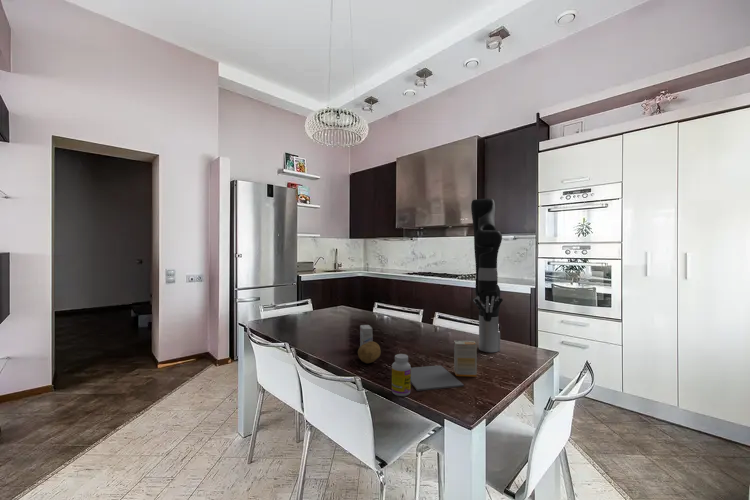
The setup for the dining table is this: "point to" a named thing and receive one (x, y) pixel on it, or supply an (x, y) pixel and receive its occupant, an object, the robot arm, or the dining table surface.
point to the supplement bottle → (401, 376)
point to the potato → (369, 352)
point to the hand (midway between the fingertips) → (487, 321)
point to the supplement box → (465, 358)
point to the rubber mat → (433, 378)
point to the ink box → (365, 334)
